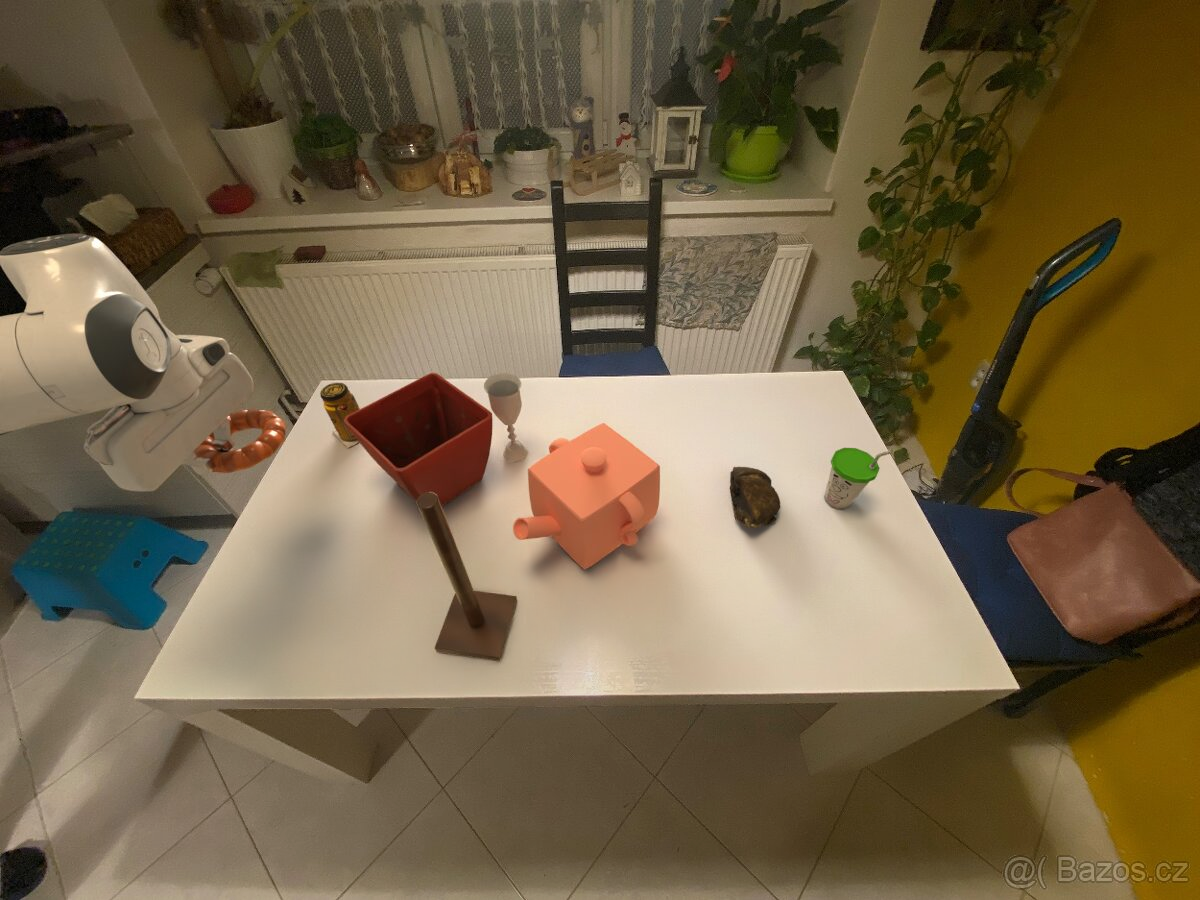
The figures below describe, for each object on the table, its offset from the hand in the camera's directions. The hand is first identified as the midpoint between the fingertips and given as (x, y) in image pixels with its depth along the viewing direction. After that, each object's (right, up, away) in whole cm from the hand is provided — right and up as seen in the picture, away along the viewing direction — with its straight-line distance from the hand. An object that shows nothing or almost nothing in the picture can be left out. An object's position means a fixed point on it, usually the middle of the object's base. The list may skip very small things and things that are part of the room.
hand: (217, 460), depth 68 cm
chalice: (+34, +1, +38) cm, 51 cm away
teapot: (+48, -14, +24) cm, 55 cm away
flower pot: (+20, -5, +33) cm, 39 cm away
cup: (+96, -8, +28) cm, 101 cm away
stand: (+32, -26, +12) cm, 43 cm away
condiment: (-2, +5, +43) cm, 44 cm away
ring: (+1, +3, +3) cm, 4 cm away
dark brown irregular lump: (+80, -9, +28) cm, 85 cm away
